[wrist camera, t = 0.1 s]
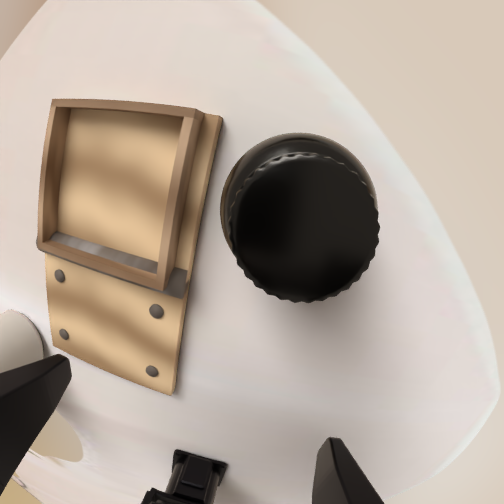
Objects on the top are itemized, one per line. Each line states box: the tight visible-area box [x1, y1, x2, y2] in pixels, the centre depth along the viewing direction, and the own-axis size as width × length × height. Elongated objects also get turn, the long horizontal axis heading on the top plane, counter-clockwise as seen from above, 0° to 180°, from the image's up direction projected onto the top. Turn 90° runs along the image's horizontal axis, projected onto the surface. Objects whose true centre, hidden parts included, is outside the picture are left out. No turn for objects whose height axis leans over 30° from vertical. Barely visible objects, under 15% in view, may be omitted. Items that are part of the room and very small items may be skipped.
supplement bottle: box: [220, 133, 380, 303], centre depth 15 cm, size 7×7×12 cm
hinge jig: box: [36, 99, 223, 396], centre depth 22 cm, size 24×14×3 cm, turn 167°
